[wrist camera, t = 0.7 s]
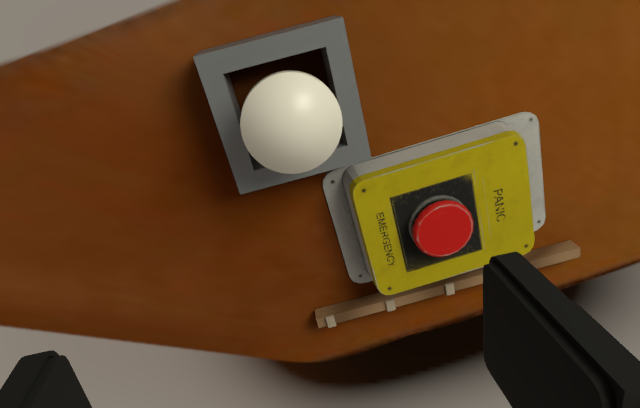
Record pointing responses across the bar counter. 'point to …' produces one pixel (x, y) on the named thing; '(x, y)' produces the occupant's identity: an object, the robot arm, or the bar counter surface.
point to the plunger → (291, 122)
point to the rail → (434, 288)
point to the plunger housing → (269, 48)
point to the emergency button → (440, 204)
